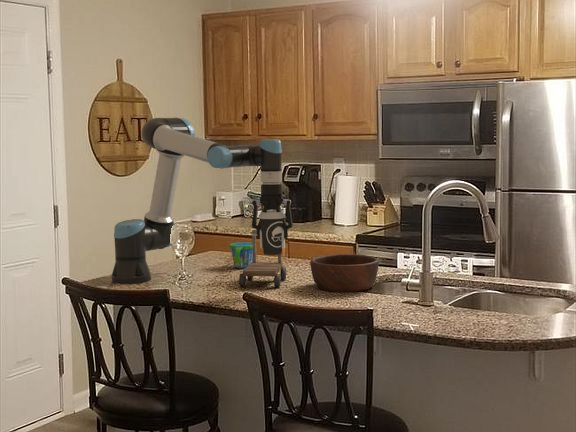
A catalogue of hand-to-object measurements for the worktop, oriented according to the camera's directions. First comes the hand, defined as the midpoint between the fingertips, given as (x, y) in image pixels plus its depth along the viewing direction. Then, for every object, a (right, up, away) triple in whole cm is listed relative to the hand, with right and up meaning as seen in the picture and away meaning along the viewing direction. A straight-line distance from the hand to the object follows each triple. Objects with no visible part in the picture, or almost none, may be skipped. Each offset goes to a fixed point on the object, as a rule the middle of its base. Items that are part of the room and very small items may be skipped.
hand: (272, 247), depth 273 cm
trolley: (-4, -14, +18) cm, 23 cm away
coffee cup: (0, -2, 0) cm, 2 cm away
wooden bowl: (+26, -15, +9) cm, 32 cm away
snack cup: (-14, -11, +53) cm, 55 cm away
